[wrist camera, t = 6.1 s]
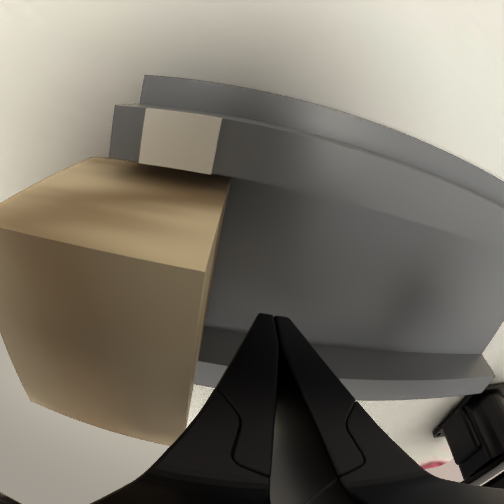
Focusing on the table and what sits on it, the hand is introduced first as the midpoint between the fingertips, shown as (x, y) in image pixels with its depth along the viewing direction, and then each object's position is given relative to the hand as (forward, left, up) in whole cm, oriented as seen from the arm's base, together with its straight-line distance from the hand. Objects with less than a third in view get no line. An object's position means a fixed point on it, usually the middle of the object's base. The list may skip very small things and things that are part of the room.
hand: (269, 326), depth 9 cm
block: (+4, 0, -3) cm, 5 cm away
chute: (-5, 0, -4) cm, 7 cm away
